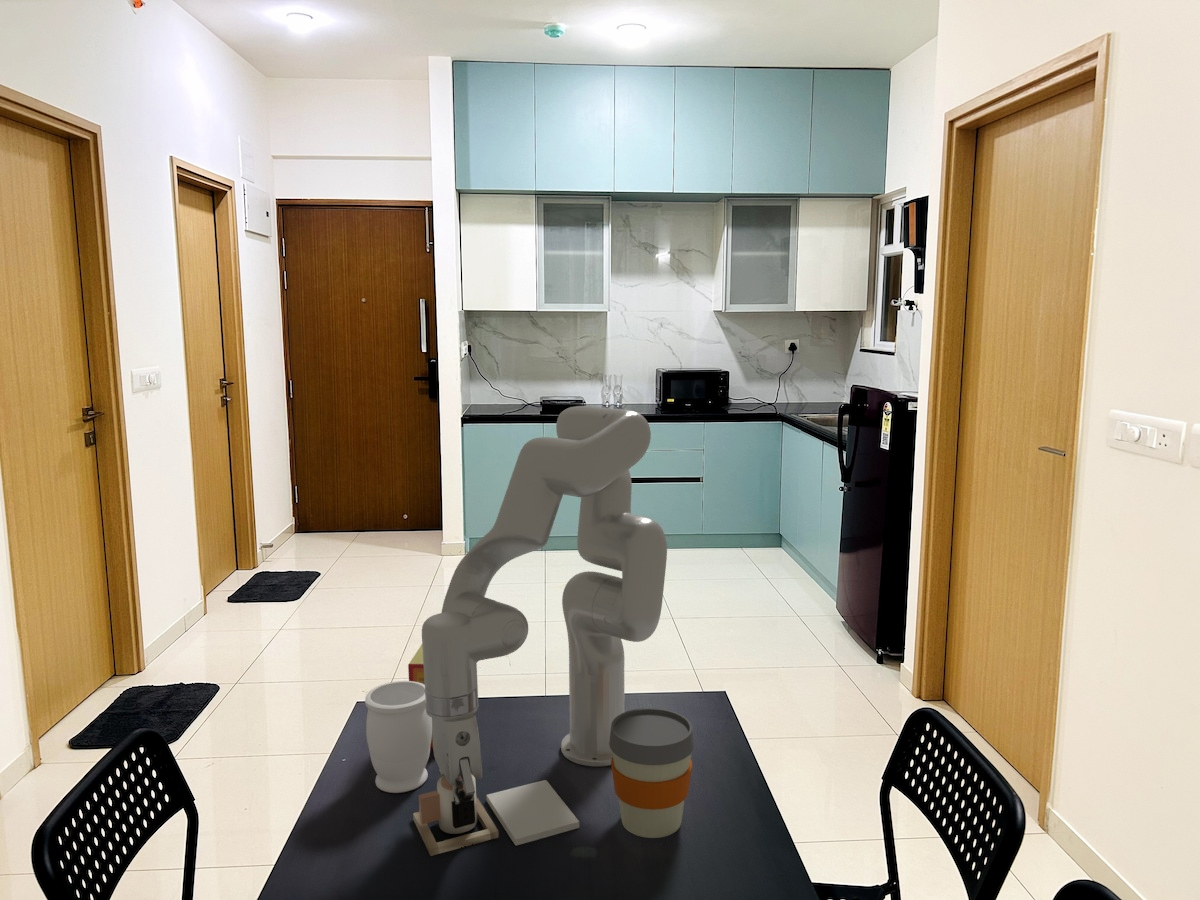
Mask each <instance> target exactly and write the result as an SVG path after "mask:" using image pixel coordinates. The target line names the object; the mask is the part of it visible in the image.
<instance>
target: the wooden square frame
mask: <svg viewBox="0 0 1200 900" xmlns="http://www.w3.org/2000/svg"><path fill="white" fill-rule="evenodd" d="M476 802H477V820H478V821H479V823H480V824H481V826H482V828H483V829H482V830H479V831H475V832H472V833H467V834H463V835H460V836H457V837H453V838H449V839H444V840H443V841H437V840H436V839H435V837H434V834H433V832H432V831H431V828H430V827H429V825H428V824H429V823H427V824H423V825H422V824H421V822H420V812H419V811H417V812H414V813H413V814H412V816H413V821H414V823H415V826H416V828H417V830H418V832H419V834H420V837H421V839H422V841H423V843H424V845H425V847H426V849H427V851H428V854H429V856H431V857H432V856H436V855H439V854H442V853H446V852H450V851H455V850H457V849H458V850H459V849H461V847H462V848H465V847H464V846H466V847H469V846H472V844H473V845H476V844H480V843H483V842H486V841H489V840H490V841H491V840H493V839H494V840H495V839H498V838H499V829H498V828H497V825H496V824H495V823H494V821H493V820H492V818H491V817H490V816H489V814H488V813H487V811H486V809H485V807H484V805H483V803H482V802H481V801H480V799H479V798H478V797H477V796H476Z"/></svg>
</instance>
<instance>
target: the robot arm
mask: <svg viewBox="0 0 1200 900" xmlns="http://www.w3.org/2000/svg"><path fill="white" fill-rule="evenodd" d="M556 420H557V421H556V424H555V425H556V429H555V430H556V435H557V437H551V436H549V437H548V436H545V437H543V436H542V437H541V436H540V437H536V438H535V437H534V438H532V439H530V440H528V441H527V442H526V443H524V445H523V446H522V448H521V449H520V451H519V453H518V456H517V459H516V462H515V464H514V465H515V466H514V468H513V471H512V473H511V477H510V479H509V482H508V485H507V489H506V491H505V494H504V497H503V500H502V503H501V505H500V508H499V512H498V513H497V517H496V520H495V523H494V525H493V526H492V528H491V529H490V530H489V531H487V533H486V534H485V535H484V536H482V537H481V538H480V539H479V540H478V541H477V542H476V543H475V544H473V546H472V547H471V548H470V549H469V551H468V552H467V553H466V554H465V555H464V556H463V557H462V558H461V560H460V561H459V563H458V564H457V566H456V568H455V570H454V572H453V575H452V577H451V580H450V582H449V584H448V588H447V590H446V593H445V596H444V599H443V603H442V609H441V612H440V613H436V614H433V615H431V616H429V617H428V618H426V620H425V621H424V622H423V624H422V627H421V645H422V648H423V664H424V682H425V701H426V713H427V715H429V716H430V717H432V739H433V750H432V751H433V756H434V760H435V762H436V764H437V765H438V767H439V769H438V770H439V771H438V773H439V774H438V775H439V779H440V778H441V777H442V776H445V778H446V780H447V781H448V783H449V784H451V785H452V790H453V798H454V801H453V802H452V820H453V827H454V828H460V827H463V826H467V825H470V824H473V823H475V806H474V793H475V788H474V784H473V779H472V775H473V776H474V777H475V780H481V779H482V778H483V766H482V764H483V762H482V754H481V752H482V751H481V742H480V735H479V734H480V733H479V727H478V721H477V717H476V712H477V710H478V709H479V706H480V705H479V689H478V688H479V685H478V662H479V661H484V660H490V659H495V658H496V659H497V658H501V657H505V656H508V655H510V654H513V653H514V652H517V651H518V650H519V649H520V648H521V647H522V646H523V644H524V643H525V642H526V640H527V637H528V634H529V623H528V622H529V621H528V620H527V618H526V616H525V614H523V612H522V611H521V610H519V609H518V608H516V607H514V606H512V605H510V604H506V603H503V602H500V601H497V600H494V599H491V598H490V597H485V596H486V594H487V591H488V588H489V587H490V583H491V581H492V579H493V578H494V576H495V575H496V574H497V572H499V570H500V569H501V568H502V567H504V566H505V565H506V564H507V563H510V562H511V561H512V560H514V559H517V558H519V557H521V556H523V555H526V554H529V553H531V552H535V551H538V550H540V549H542V548H543V547H545V546H546V544H548V541H549V538H550V535H551V531H552V529H553V525H554V523H555V519H556V517H557V515H558V511H559V508H560V504H561V502H562V499H563V496H569V497H570V496H571V497H577V498H580V503H579V513H578V515H579V516H578V526H577V538H576V539H577V541H576V542H577V543H576V544H577V552H578V553H579V556H580V557H581V559H583V560H584V561H586V562H588V563H590V564H592V565H596V566H600V567H603V568H607V569H610V570H614V571H619V572H621V576H622V577H618V576H615V575H612V574H607V573H603V572H598V571H589V570H588V571H582V572H579V573H577V574H574V575H573V576H572V577H571V578H570V579H569V580H568V581H567V583H566V584H565V586H564V589H563V592H562V597H561V598H562V599H561V602H562V603H561V604H562V614H563V618H564V622H565V625H566V630H567V631H566V632H567V639H568V640H567V641H568V642H567V643H568V676H569V677H568V680H569V681H568V682H569V683H568V684H569V685H568V686H569V688H568V689H569V693H568V694H569V697H568V699H569V733H567V734H566V735H565V736H564V737H563V738H562V740H561V744H560V748H561V749H560V750H561V754H562V756H564V757H565V758H566V759H567V760H569V761H570V762H572V763H575V764H577V765H581V766H586V767H608V766H611V759H612V757H613V753H612V750H611V749H610V745H609V741H610V731H611V724H612V721H613V720H614V719H615V718H616V717H617V716H618V715H620V714H622V713H624V712H625V650H624V644H623V641H622V640H624V641H627V642H633V643H640V642H644V641H646V640H647V639H649V638H651V636H652V635H653V634H654V633H655V631H656V629H657V628H658V625H659V622H660V620H661V619H660V617H661V613H662V608H663V607H662V606H663V599H664V598H663V597H664V588H665V579H666V569H667V568H666V567H667V561H668V559H667V558H668V543H667V538H666V534H665V532H664V530H663V528H662V527H661V526H660V524H659V523H658V522H657V521H656V520H653V518H652V519H651V518H649V517H646V516H643V515H637V514H633V513H632V509H631V508H632V507H631V506H632V488H633V487H632V477H631V473H630V469H631V468H633V467H634V466H635V465H637V463H638V462H640V461H641V460H642V459H643V457H644V456H645V454H646V453H647V451H648V450H649V446H650V443H651V439H652V438H651V437H652V436H651V435H652V433H651V427H650V424H649V422H648V420H647V419H646V417H644V416H643V415H642V414H641V413H640V412H636V411H634V410H632V409H631V410H630V409H621V408H611V407H609V408H608V407H601V406H590V405H576V406H570V407H568V408H566V409H564V410H563V411H561V412H560V413H559V415H558V417H557V419H556ZM471 774H472V775H471ZM460 775H461V778H462V779H458V780H455V779H457V777H458V776H460ZM462 784H463V790H461V791H460V792H459V794H458V787H457V786H458V785H462Z"/></svg>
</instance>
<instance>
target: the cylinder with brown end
mask: <svg viewBox="0 0 1200 900" xmlns="http://www.w3.org/2000/svg"><path fill="white" fill-rule="evenodd" d="M471 775H472V779H473V784H474V788H475V793H474V806H475V823H473V824H470V825H467V826H463V827H460V828H454V827H453V820H452V802H453V801H454V798H453V790H452V785H451V784H449V783H448V781H447V780H446V778H445V776H442V777H441V778H440V777H439V778H438V780H437V782H436V790H434V791H429V792H426V793H421V794H419V795H418V807H419V809H418V810H419V811H418V812H420V822H421V824H422V825H423V824H430V823H434V822H437V821H438V826H439V829H440V830H441V831H443V832H444V833H447V834H453V835H454V834H455V835H456V834H463V833H466V832H469V831H471V830H472V829H474V828H475V827H476V825H477V823H478V818H477V802H476V797H477V786H476V779H475V777H474V776H473V774H472V773H471ZM458 779H462V778H461V775H460V776H458V777H457V779H455V780H458ZM457 787H458V794H459V792H460V791H461V790H463V784H462V785H458V786H457Z"/></svg>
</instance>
